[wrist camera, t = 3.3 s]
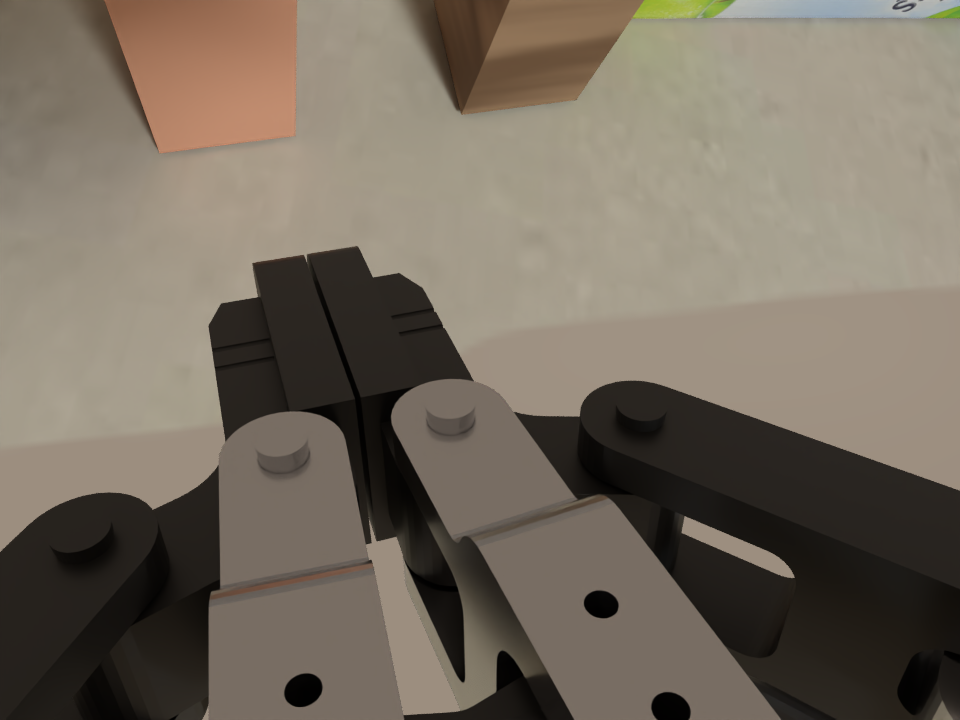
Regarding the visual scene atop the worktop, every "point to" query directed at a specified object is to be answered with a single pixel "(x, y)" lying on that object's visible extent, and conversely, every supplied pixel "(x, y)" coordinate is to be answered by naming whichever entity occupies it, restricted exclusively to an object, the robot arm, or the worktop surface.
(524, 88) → the walnut block
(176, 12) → the terracotta block
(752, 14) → the snack box
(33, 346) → the worktop surface
